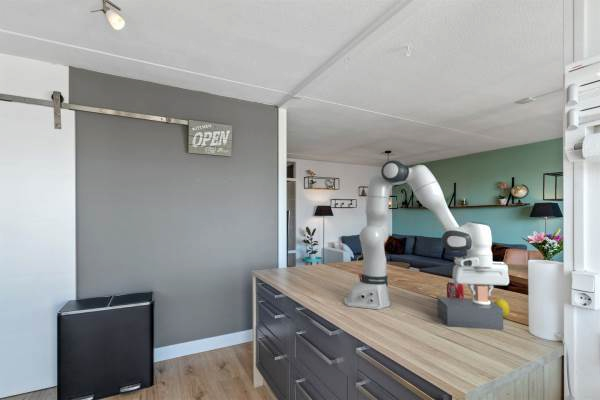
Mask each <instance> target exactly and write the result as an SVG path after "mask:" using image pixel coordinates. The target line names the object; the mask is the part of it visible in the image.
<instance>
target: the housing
mask: <svg viewBox="0 0 600 400" xmlns="http://www.w3.org/2000/svg"><path fill="white" fill-rule="evenodd" d="M472 299H473V298H469V297H468V298H467V297H466V298H465V297H464V298H449V297H447V296H445V297H444V296H442V297H441V296H436V301H437V302H436V303H437V304H436V305H437V308H436V309H437V316H438V318H439V319H440V320H441V321H442V322H443V324H445V326H446V327H448V328H449V327H452V328H467V329H468V328H469V329H470V328H471V329H482V330H483V329H484V330H485V329H486V330H502V331H503V330H504V318H503V308H501V307H499V306H498V305H496V304H494V303H495V302H492V301H491V300H489V301H490V305H487V306H485V305H477V304H474V303H472Z"/></svg>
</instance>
